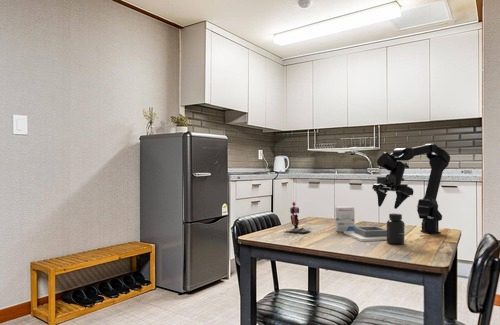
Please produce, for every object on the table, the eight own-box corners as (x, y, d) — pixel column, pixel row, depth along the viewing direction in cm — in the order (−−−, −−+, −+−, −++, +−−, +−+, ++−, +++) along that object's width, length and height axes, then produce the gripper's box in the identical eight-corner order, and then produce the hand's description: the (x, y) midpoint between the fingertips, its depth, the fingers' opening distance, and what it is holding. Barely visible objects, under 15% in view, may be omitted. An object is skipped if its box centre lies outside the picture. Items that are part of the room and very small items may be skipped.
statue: (284, 234, 170) (280, 203, 171) (292, 231, 178) (288, 201, 179) (305, 234, 164) (300, 202, 165) (312, 230, 172) (308, 200, 173)
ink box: (352, 230, 175) (352, 206, 175) (354, 231, 170) (354, 207, 170) (335, 229, 175) (334, 206, 176) (336, 231, 170) (336, 207, 171)
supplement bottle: (403, 245, 139) (402, 215, 140) (385, 244, 143) (384, 214, 143) (405, 242, 145) (405, 213, 145) (388, 240, 149) (388, 212, 149)
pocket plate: (379, 232, 169) (379, 224, 169) (400, 239, 151) (400, 231, 151) (343, 233, 166) (343, 225, 166) (361, 241, 148) (361, 232, 148)
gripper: (368, 168, 164) (359, 199, 161) (400, 168, 147) (390, 203, 144) (385, 176, 168) (376, 207, 166) (418, 177, 151) (409, 212, 149)
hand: (387, 207), depth 156 cm, fingers open, 9 cm apart
